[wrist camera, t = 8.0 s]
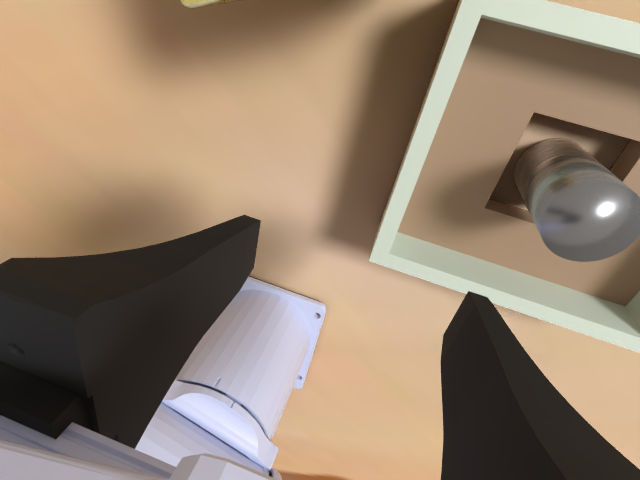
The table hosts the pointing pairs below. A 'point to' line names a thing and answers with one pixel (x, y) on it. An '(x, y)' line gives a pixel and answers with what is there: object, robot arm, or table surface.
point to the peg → (576, 201)
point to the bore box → (496, 150)
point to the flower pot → (202, 2)
